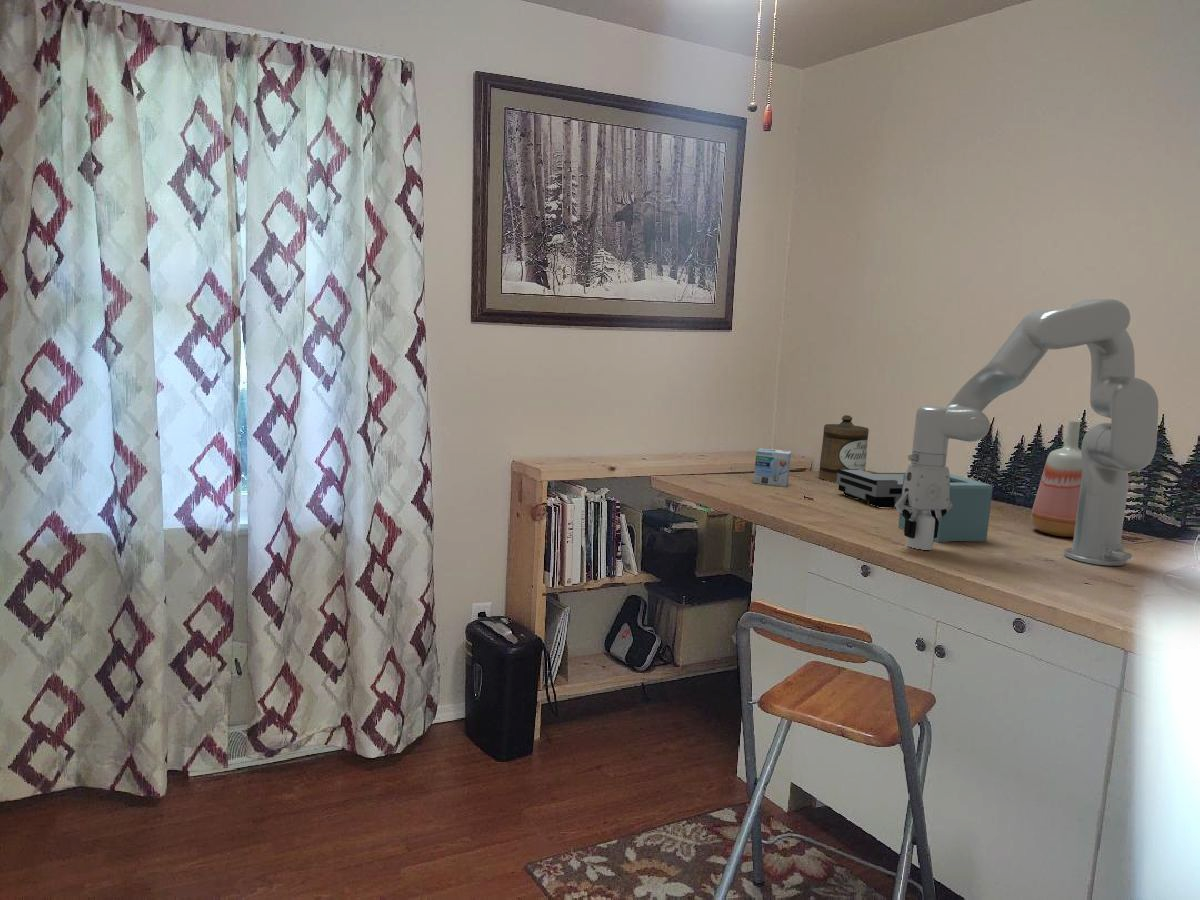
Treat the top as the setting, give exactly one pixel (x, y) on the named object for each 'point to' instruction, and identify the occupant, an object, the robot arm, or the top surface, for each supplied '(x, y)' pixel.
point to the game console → (871, 486)
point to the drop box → (964, 511)
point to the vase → (1060, 488)
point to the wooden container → (843, 448)
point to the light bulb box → (772, 467)
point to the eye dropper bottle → (923, 531)
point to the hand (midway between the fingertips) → (920, 536)
